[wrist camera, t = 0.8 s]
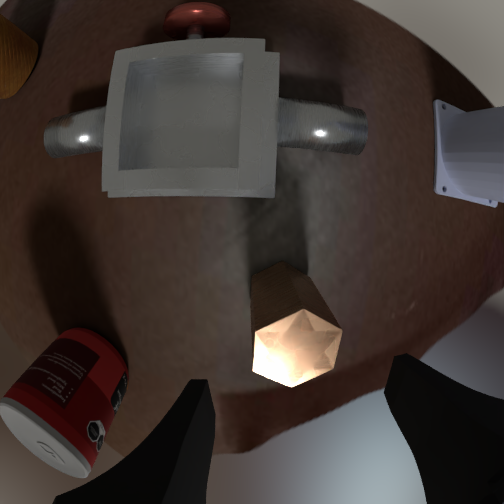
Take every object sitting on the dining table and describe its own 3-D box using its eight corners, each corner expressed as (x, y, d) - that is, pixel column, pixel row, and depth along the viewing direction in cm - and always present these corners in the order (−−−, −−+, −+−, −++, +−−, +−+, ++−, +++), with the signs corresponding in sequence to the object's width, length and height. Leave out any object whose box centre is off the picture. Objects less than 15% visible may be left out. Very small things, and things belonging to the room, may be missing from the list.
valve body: (346, 48, 14) (371, 20, 10) (345, 201, 17) (376, 209, 13) (80, 58, 13) (49, 40, 9) (66, 198, 16) (28, 206, 12)
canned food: (102, 399, 22) (63, 477, 11) (49, 342, 20) (-11, 410, 9) (148, 379, 21) (110, 480, 10) (87, 310, 19) (9, 393, 8)
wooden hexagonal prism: (311, 261, 18) (347, 308, 11) (304, 321, 19) (328, 384, 13) (252, 259, 18) (256, 308, 11) (249, 321, 19) (252, 387, 12)
